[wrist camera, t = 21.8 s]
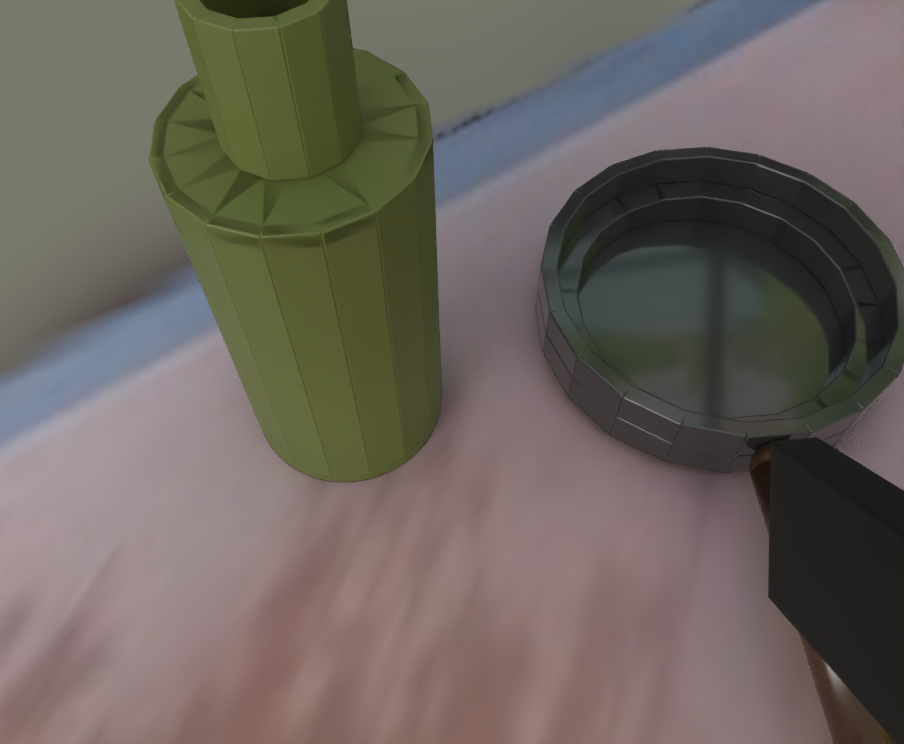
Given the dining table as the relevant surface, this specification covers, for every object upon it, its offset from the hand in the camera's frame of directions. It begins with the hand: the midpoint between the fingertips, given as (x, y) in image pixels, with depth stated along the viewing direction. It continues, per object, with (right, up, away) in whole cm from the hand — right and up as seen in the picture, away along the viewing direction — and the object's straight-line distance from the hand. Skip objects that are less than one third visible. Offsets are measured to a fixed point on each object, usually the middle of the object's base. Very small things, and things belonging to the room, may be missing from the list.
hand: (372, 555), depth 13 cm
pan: (+11, +5, +20) cm, 23 cm away
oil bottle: (-3, +2, +18) cm, 18 cm away
